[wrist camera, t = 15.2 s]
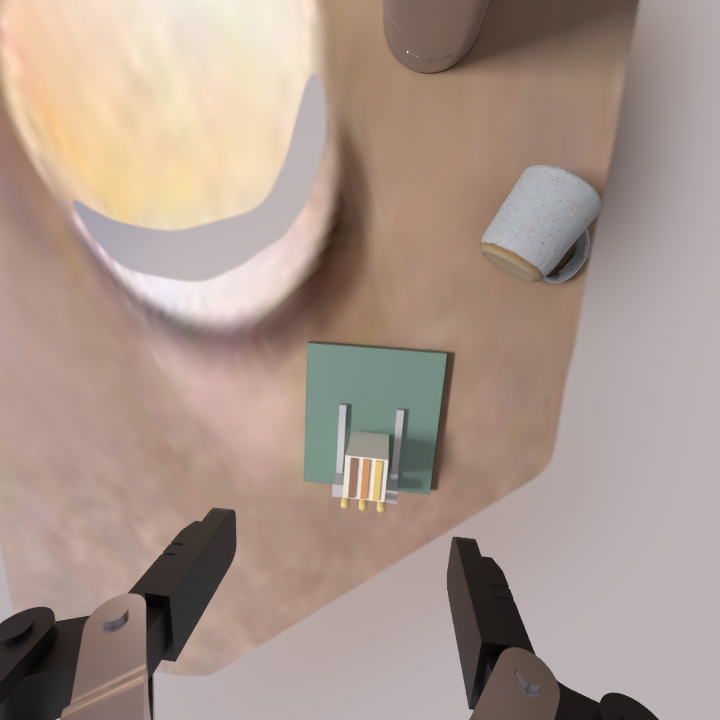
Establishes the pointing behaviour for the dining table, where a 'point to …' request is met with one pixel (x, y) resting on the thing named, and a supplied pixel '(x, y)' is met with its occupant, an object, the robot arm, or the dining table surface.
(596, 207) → the ceramic mug
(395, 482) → the header board
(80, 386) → the dining table surface
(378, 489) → the plug block
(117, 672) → the robot arm
